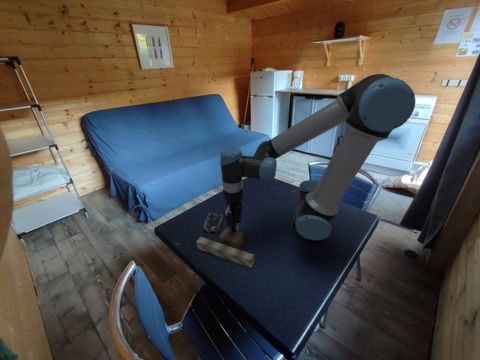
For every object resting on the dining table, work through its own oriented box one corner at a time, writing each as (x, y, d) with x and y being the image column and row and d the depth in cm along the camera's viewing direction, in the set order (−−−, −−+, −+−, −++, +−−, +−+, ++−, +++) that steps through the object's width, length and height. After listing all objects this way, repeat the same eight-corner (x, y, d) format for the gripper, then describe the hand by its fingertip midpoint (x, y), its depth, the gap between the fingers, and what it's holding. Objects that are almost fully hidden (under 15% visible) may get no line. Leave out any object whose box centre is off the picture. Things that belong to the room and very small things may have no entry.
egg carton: (219, 234, 100) (218, 227, 98) (203, 233, 101) (202, 226, 99) (224, 218, 109) (223, 212, 107) (209, 218, 110) (208, 211, 108)
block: (243, 241, 95) (243, 233, 93) (237, 251, 91) (236, 242, 88) (226, 236, 99) (226, 227, 96) (219, 245, 94) (218, 237, 91)
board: (254, 262, 86) (254, 254, 84) (251, 268, 83) (251, 260, 82) (201, 243, 95) (200, 236, 93) (197, 248, 93) (196, 241, 91)
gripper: (232, 178, 91) (234, 223, 103) (215, 195, 81) (220, 242, 93) (248, 182, 89) (249, 228, 100) (233, 199, 78) (236, 248, 90)
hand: (235, 235), depth 97 cm, fingers closed
